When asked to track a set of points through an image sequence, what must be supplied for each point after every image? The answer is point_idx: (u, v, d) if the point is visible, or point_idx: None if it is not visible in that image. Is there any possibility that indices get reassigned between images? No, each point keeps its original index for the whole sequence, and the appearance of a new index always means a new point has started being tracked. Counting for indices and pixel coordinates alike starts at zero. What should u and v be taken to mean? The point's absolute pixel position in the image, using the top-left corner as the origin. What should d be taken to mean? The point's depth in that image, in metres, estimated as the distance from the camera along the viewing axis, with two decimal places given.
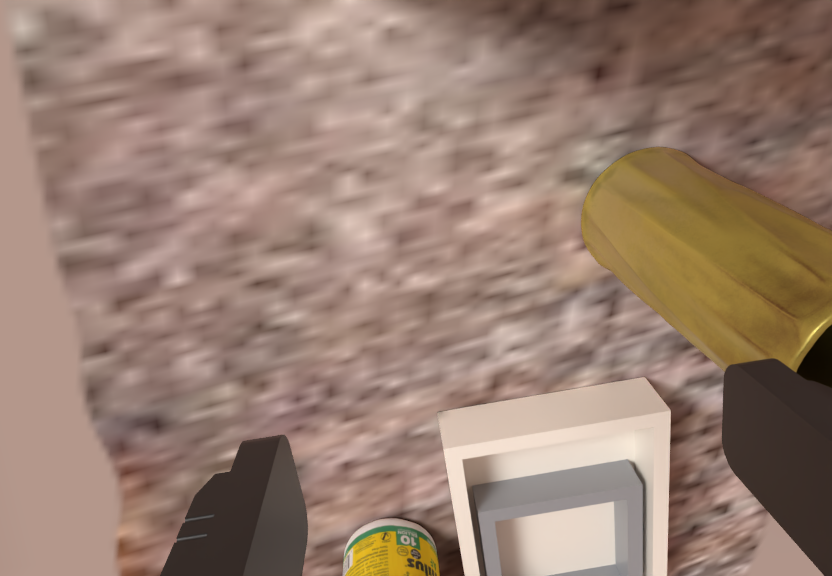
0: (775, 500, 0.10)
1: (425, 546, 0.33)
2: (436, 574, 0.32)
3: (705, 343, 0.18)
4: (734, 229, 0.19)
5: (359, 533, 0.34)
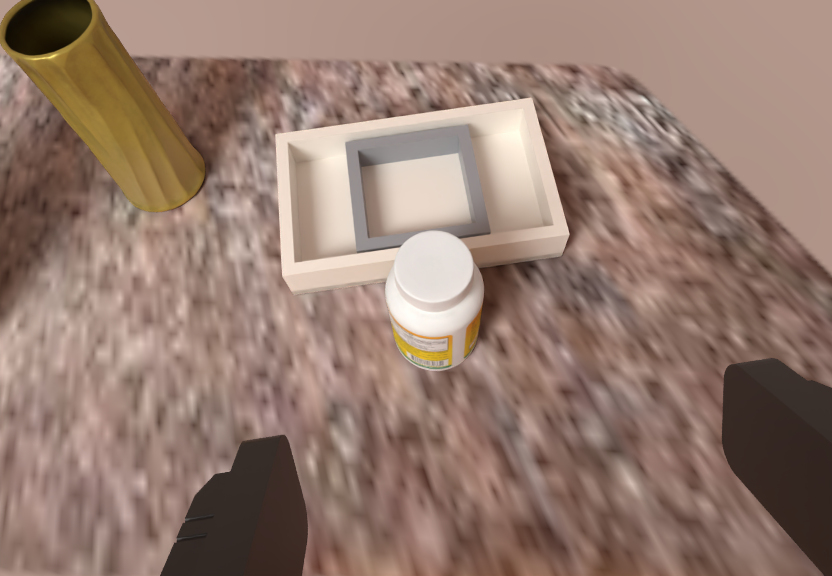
0: (775, 500, 0.10)
1: None
2: None
3: (92, 106, 0.34)
4: None
5: (402, 354, 0.37)
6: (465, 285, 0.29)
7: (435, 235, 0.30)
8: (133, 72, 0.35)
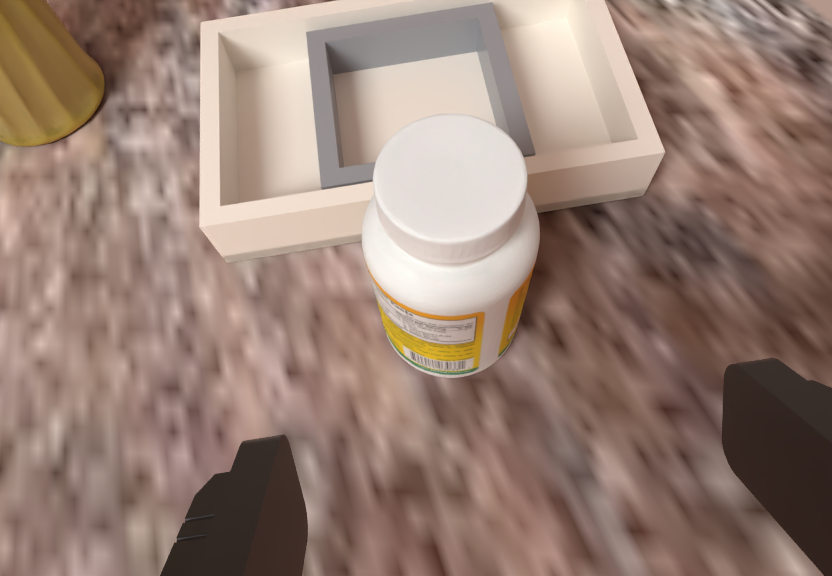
0: (775, 500, 0.10)
1: None
2: None
3: None
4: None
5: (397, 351, 0.23)
6: (514, 210, 0.15)
7: (451, 121, 0.16)
8: None
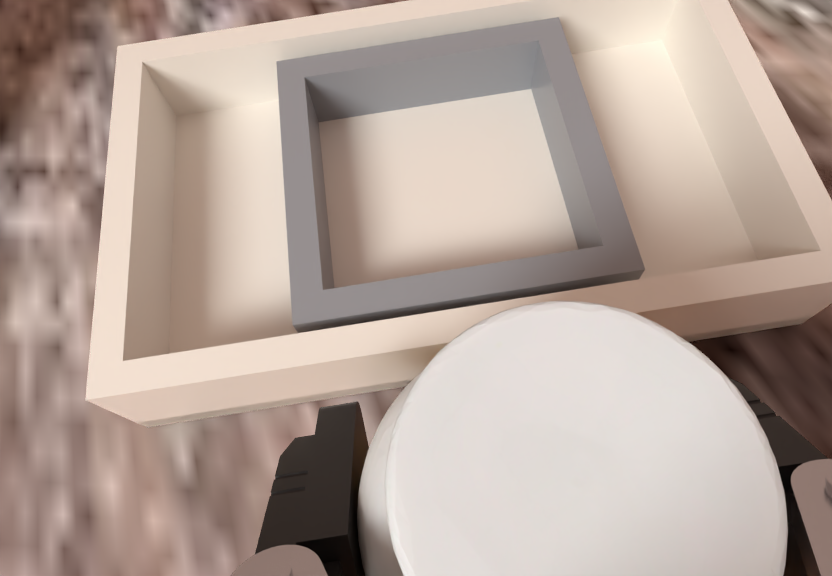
0: None
1: None
2: None
3: None
4: None
5: None
6: None
7: (573, 325, 0.07)
8: None
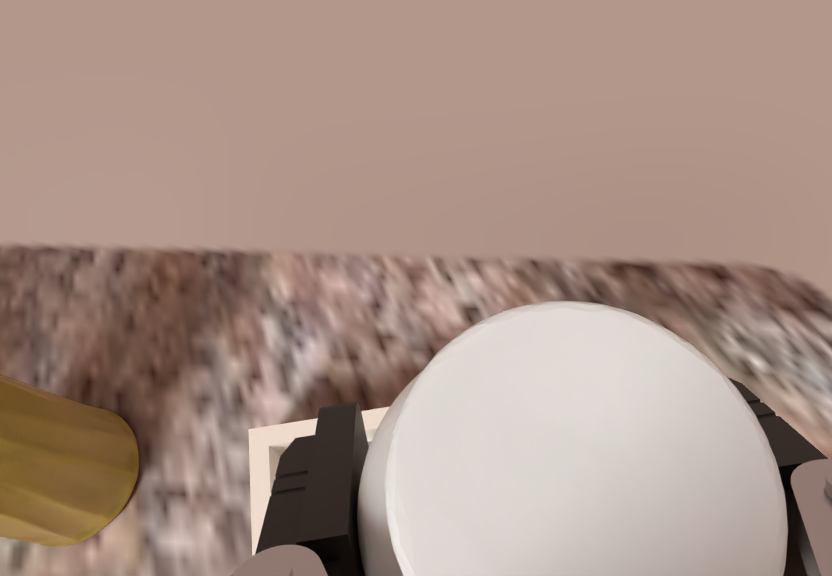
0: None
1: None
2: None
3: None
4: None
5: None
6: None
7: (573, 325, 0.07)
8: None
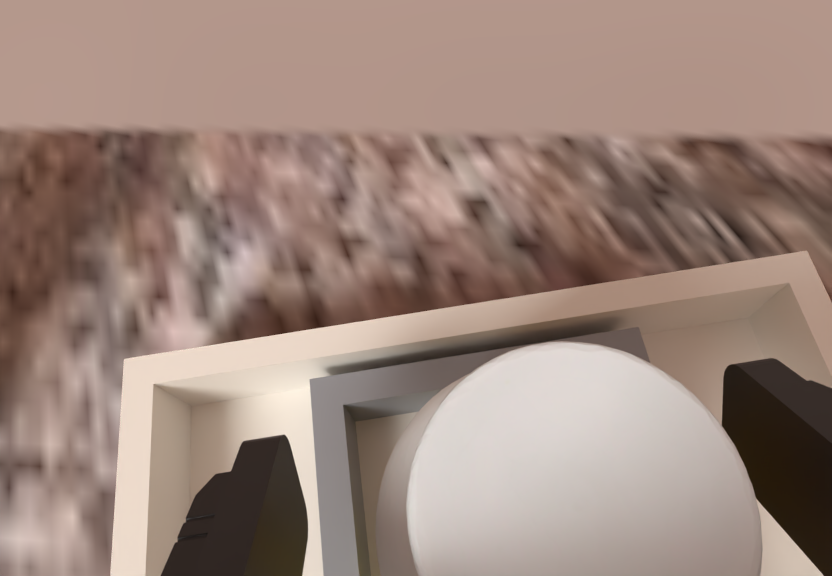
0: (775, 500, 0.10)
1: None
2: None
3: None
4: None
5: None
6: None
7: (574, 364, 0.07)
8: None
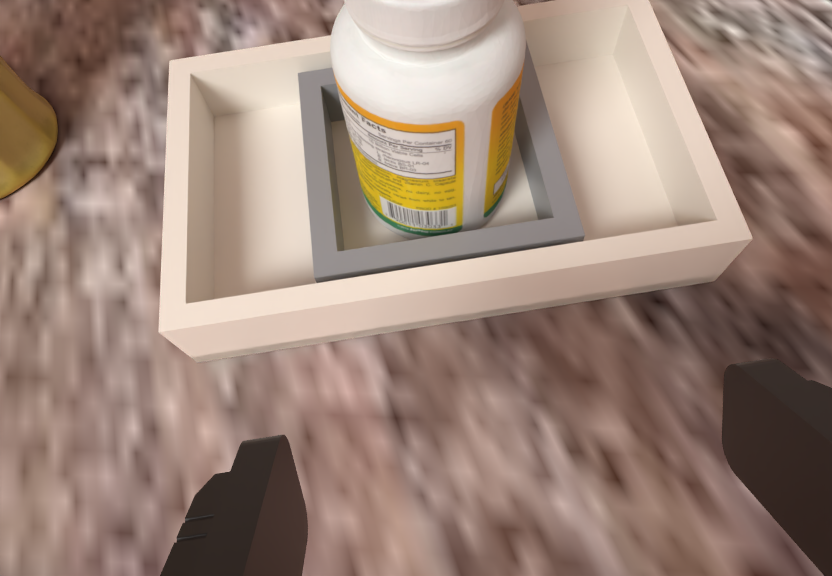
0: (775, 500, 0.10)
1: None
2: None
3: None
4: None
5: (375, 215, 0.21)
6: None
7: None
8: None
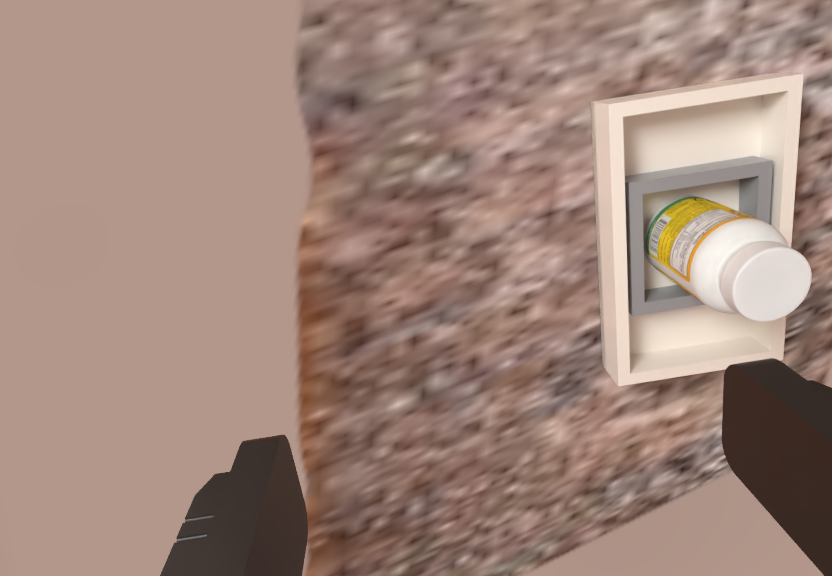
0: (775, 500, 0.10)
1: None
2: None
3: None
4: None
5: (665, 206, 0.38)
6: (744, 315, 0.30)
7: (804, 287, 0.30)
8: None
